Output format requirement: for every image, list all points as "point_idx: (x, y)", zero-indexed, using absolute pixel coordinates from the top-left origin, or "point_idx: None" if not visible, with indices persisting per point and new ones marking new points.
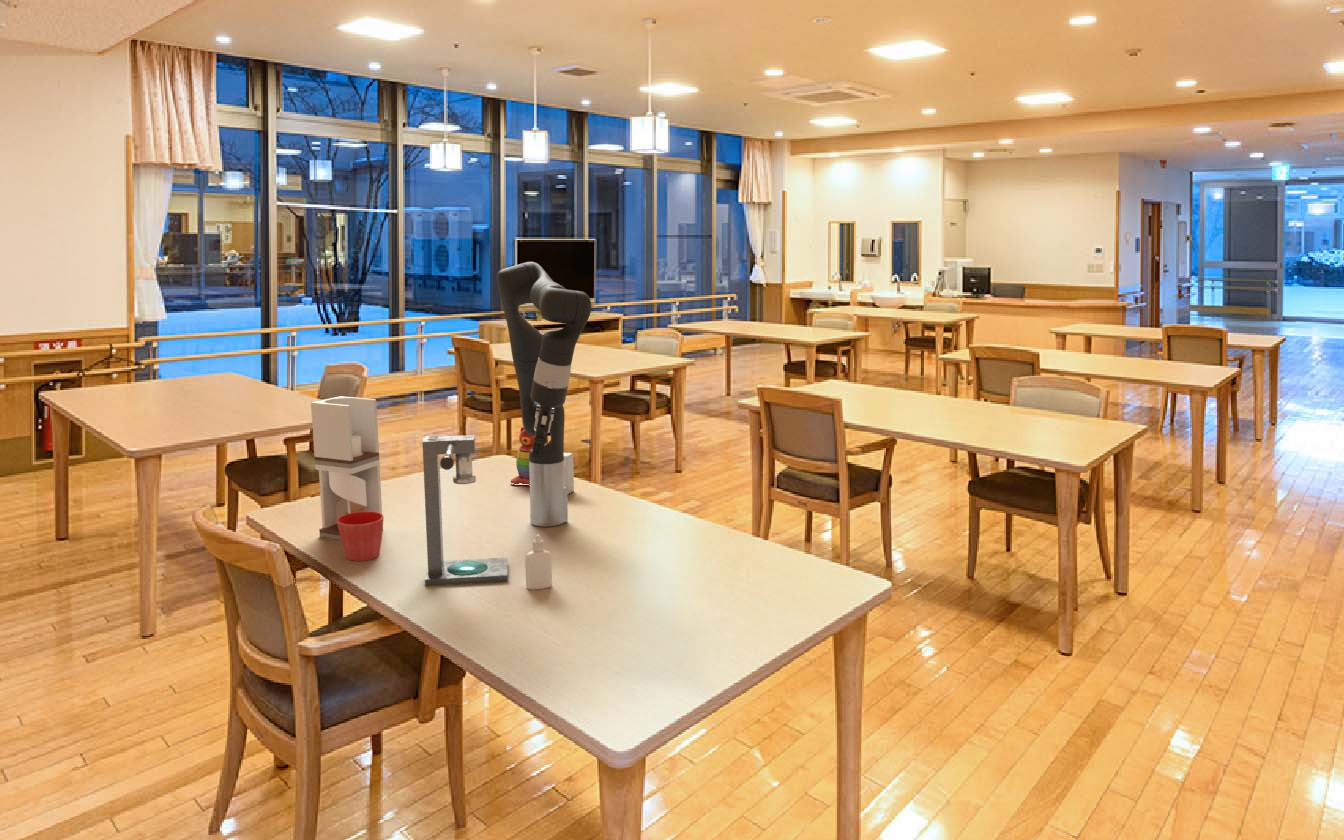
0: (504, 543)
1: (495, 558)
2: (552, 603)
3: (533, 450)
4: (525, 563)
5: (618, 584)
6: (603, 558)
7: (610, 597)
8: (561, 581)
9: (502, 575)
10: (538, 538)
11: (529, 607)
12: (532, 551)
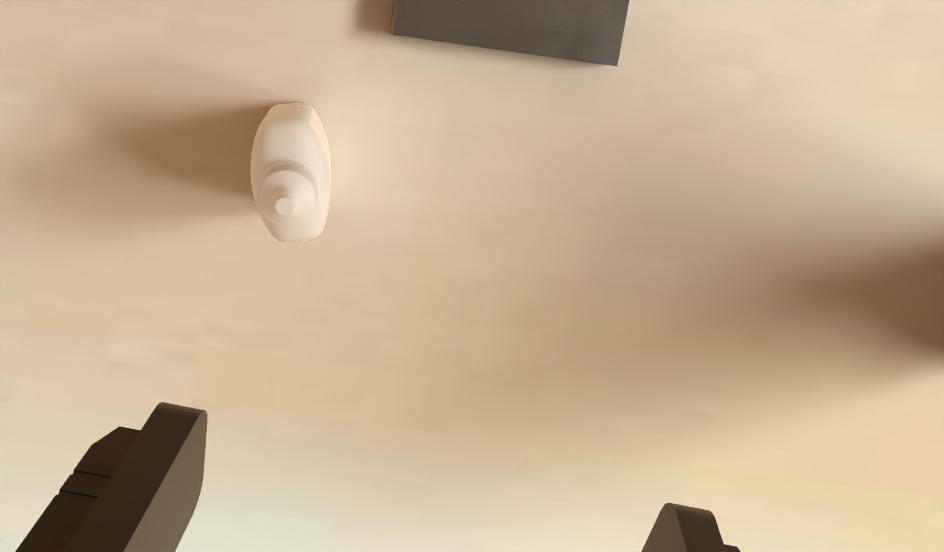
0: (854, 86)
1: (623, 11)
2: (94, 181)
3: (126, 460)
4: (298, 113)
5: (257, 443)
6: (546, 430)
7: (125, 399)
8: (339, 250)
9: (395, 11)
10: (273, 203)
11: (61, 82)
12: (286, 157)
